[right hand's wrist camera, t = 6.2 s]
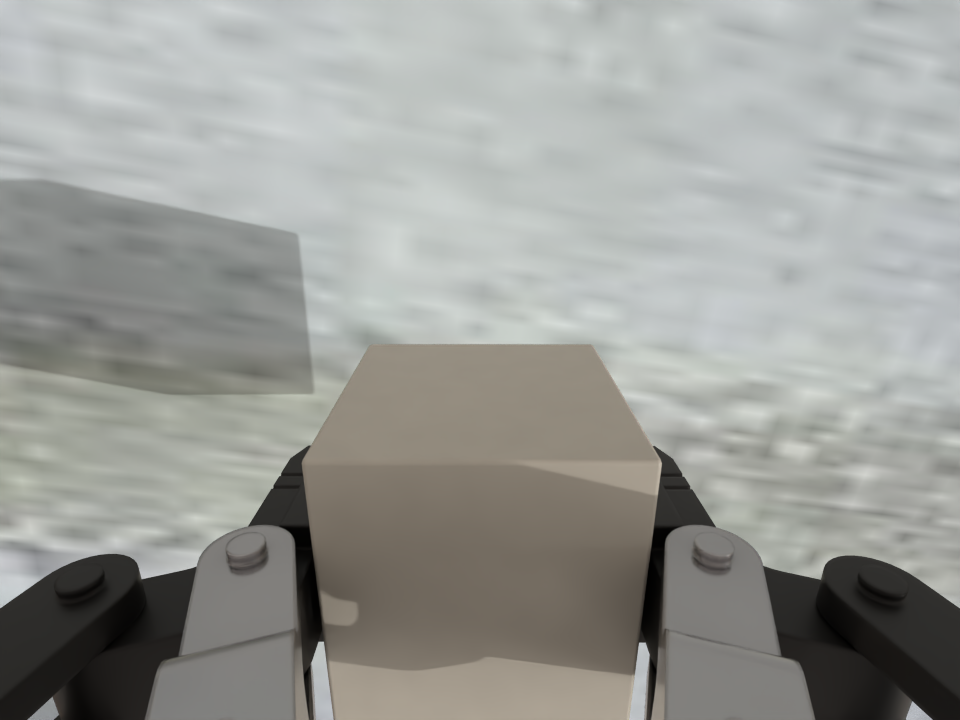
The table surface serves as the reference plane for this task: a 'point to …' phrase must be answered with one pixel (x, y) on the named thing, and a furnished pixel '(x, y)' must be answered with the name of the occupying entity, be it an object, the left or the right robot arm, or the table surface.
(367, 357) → the beige cube
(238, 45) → the table surface
